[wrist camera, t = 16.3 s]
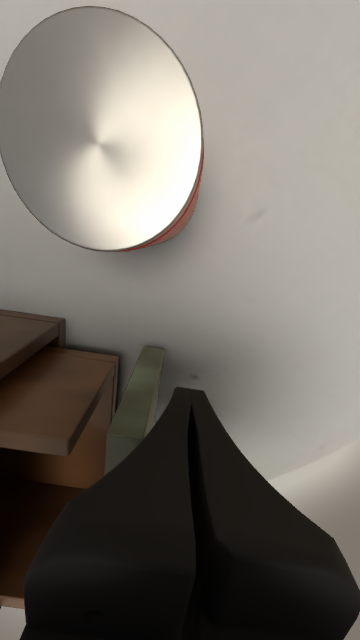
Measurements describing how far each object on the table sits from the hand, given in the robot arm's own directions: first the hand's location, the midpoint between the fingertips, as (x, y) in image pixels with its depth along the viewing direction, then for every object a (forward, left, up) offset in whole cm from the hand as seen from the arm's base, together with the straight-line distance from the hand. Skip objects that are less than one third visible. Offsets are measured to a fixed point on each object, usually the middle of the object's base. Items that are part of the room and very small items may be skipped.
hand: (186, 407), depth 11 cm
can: (-9, -3, -5) cm, 11 cm away
